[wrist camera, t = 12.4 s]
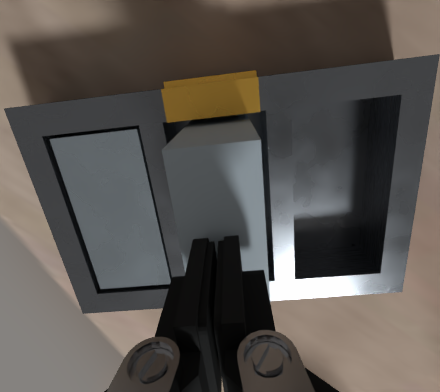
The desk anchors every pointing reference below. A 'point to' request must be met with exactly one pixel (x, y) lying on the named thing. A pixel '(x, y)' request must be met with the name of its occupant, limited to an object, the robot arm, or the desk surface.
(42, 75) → the desk surface
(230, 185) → the panel
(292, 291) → the rack
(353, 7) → the desk surface
